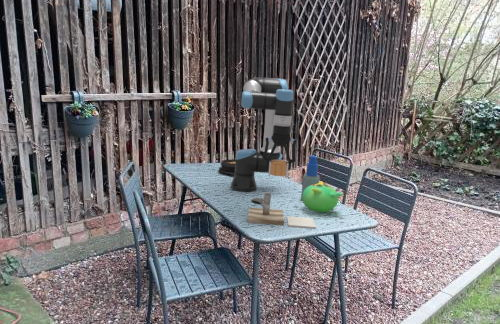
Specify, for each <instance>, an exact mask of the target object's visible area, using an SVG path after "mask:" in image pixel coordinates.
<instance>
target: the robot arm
mask: <svg viewBox="0 0 500 324" xmlns="http://www.w3.org/2000/svg"><path fill="white" fill-rule="evenodd" d="M288 86H289V85H288V82H287V79H285V78H272V77H262V76H261V77H253V78H250V79H248V80H247V81H246V82H245V83H244V85H243V87H242V88H243V91H242V93H241V107H242V108H245V109H252V110H253V109H254V110H255V109H258V110H265V118H264V128H263V129H264V131H263V141H262V147H261V148H259V152H258V151H257V149H255V148H244V149H239V150H237V151H236V154H235V158H234V160H236V162H235V175H233V178H232V180H231V182H230V189H231V190H233V191H235V192H244V193H246V192H248V193H249V192H254V191H256V190H257V183H256V178H255V174H256V173H265V174H267V173H268V175H267V176H268V177H271V174H270V171H271V160H283V154H282V153H281V150H280V149H279V147H283V148H284V151H285V153H286V158H287V168H286V176H285V179H286V178H288V175H289V174H288V173H289V171H291V170H292V169H291V168H292V163H296V144H297V140H296V139H295V138H291V124H292V115H293V105H294V91H293V90H292V89H289V87H288ZM289 142H290V143H291V147H292V149H291V150H292V152H291V153H292V155H291V156H292V158H291V156H290V152H289V148H288V144H289Z"/></svg>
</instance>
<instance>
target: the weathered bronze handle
mask: <svg viewBox="0 0 500 324" xmlns="http://www.w3.org/2000/svg"><path fill="white" fill-rule="evenodd" d="M251 201H253V202H257V203H260V204H261V205H263V204H264V198H262V197H254V198H252V199H251Z"/></svg>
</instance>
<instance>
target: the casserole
mask: <svg viewBox="0 0 500 324" xmlns="http://www.w3.org/2000/svg"><path fill="white" fill-rule="evenodd" d="M235 162H236V160H235V159H224V160H221V162H220V165H221V166H220V167H218V172H220V173H223V174H226V175H228V174H230V175H229V176H234V175H235Z"/></svg>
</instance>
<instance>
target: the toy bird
mask: <svg viewBox="0 0 500 324" xmlns="http://www.w3.org/2000/svg"><path fill="white" fill-rule="evenodd" d="M301 194H302V193H301ZM343 195H344V193H343V192H337V190H336V189H335V188H333V187H332V186H331V185H328V184H325V183H324V182H323V181H321V180H320V181H319V183H318V184H313V185H310V186H308V187H307V188H306V189H305V190H304V192H303V194H302V200H303V201H302V203H303V204H304V206H305V208H307V209H308V210H310V211H313V212H316V213H325V212H330V211H332V210H334V209H335V208H336V207H337V205H338V203H339V198H340V197H342V196H343Z"/></svg>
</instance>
